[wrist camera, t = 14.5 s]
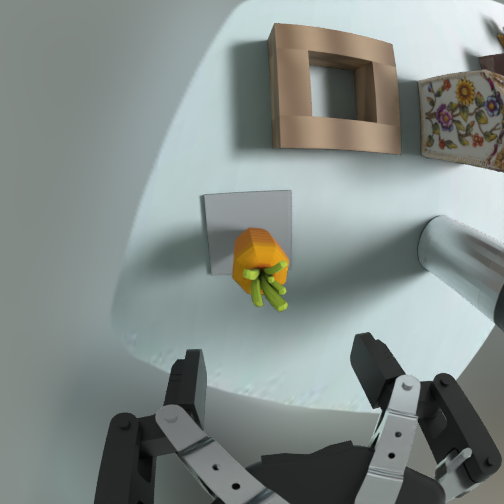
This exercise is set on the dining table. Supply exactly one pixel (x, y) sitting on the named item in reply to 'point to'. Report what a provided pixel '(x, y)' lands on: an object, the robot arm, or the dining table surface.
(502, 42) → the stuffed squirrel
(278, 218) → the rubber mat
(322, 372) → the dining table surface
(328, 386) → the dining table surface
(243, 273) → the carrot
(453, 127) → the decorative jar
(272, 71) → the socket block
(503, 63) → the box
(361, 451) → the robot arm
